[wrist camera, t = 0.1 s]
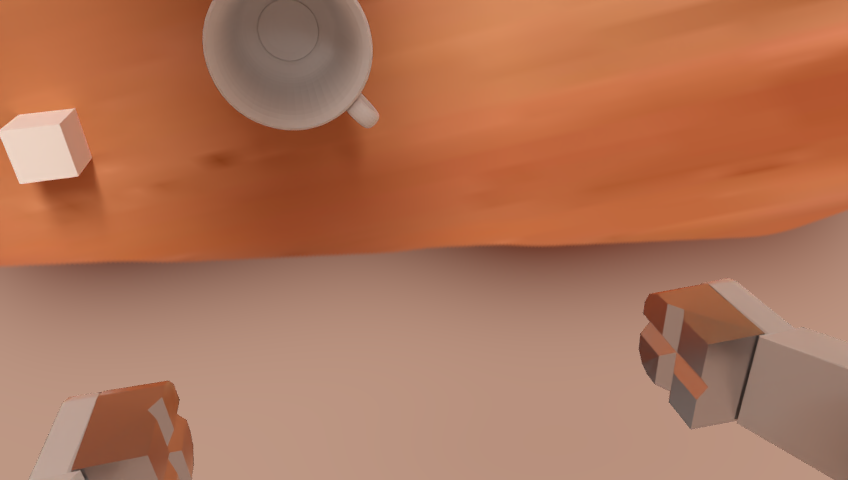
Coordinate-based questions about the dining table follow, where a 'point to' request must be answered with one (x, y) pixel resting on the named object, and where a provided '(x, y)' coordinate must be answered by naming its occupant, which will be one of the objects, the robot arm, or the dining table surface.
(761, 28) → the dining table surface
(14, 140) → the cube
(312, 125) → the teacup
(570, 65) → the dining table surface
